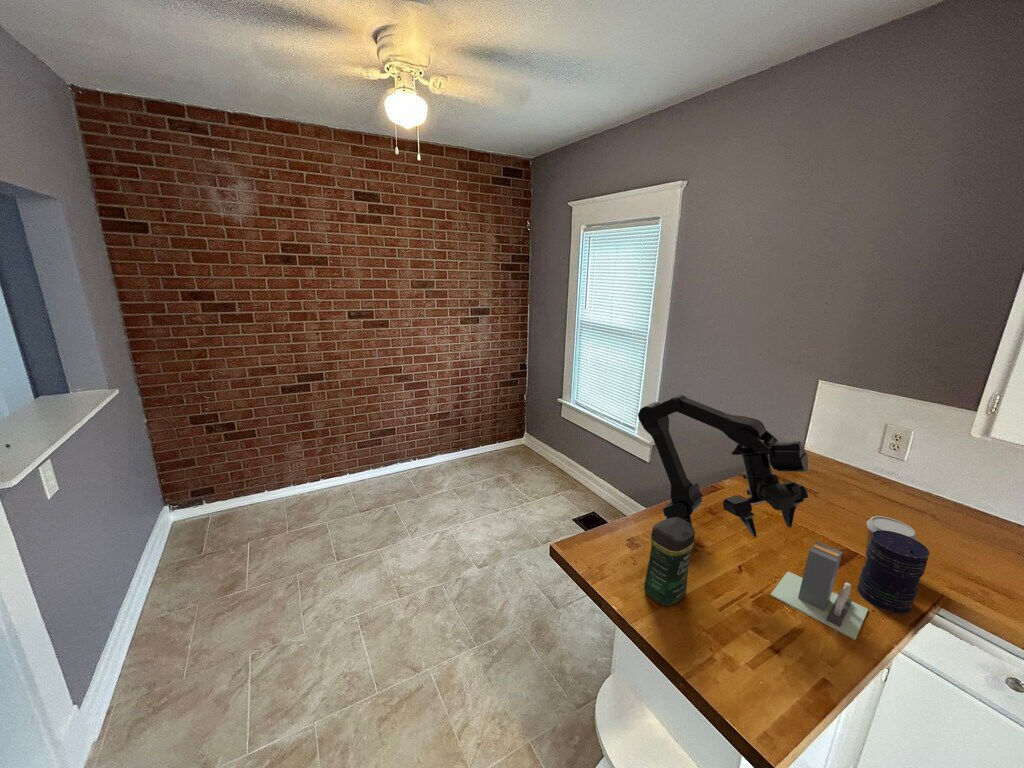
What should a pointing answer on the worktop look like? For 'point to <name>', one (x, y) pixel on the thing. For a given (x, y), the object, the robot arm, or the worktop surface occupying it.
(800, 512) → the worktop surface
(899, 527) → the disposable coffee cup
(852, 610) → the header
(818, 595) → the plug block
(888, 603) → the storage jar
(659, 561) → the coffee jar
